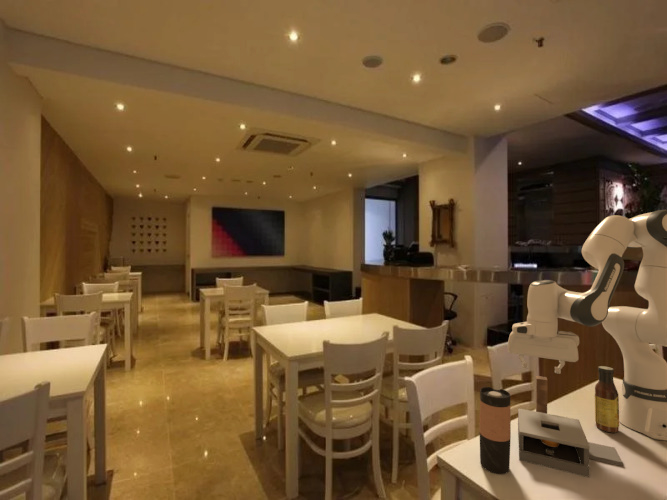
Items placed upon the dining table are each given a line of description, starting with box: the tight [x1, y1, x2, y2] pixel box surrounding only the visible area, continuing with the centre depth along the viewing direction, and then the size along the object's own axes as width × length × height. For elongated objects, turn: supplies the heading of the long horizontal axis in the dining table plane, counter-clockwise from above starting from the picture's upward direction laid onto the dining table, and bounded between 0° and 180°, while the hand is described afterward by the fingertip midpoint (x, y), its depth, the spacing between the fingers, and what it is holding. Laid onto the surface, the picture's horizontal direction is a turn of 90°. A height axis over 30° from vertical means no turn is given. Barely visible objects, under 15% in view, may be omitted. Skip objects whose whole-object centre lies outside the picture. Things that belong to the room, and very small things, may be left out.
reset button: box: [540, 439, 560, 448], centre depth 101 cm, size 4×4×2 cm
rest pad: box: [588, 441, 623, 467], centre depth 100 cm, size 8×8×1 cm
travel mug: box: [478, 386, 512, 475], centre depth 95 cm, size 8×8×20 cm
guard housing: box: [517, 408, 591, 478], centre depth 101 cm, size 16×16×8 cm
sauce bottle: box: [594, 365, 620, 433], centre depth 115 cm, size 7×6×20 cm
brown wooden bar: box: [535, 375, 548, 414], centre depth 116 cm, size 3×3×16 cm
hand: (540, 370), depth 116 cm, fingers open, 8 cm apart
